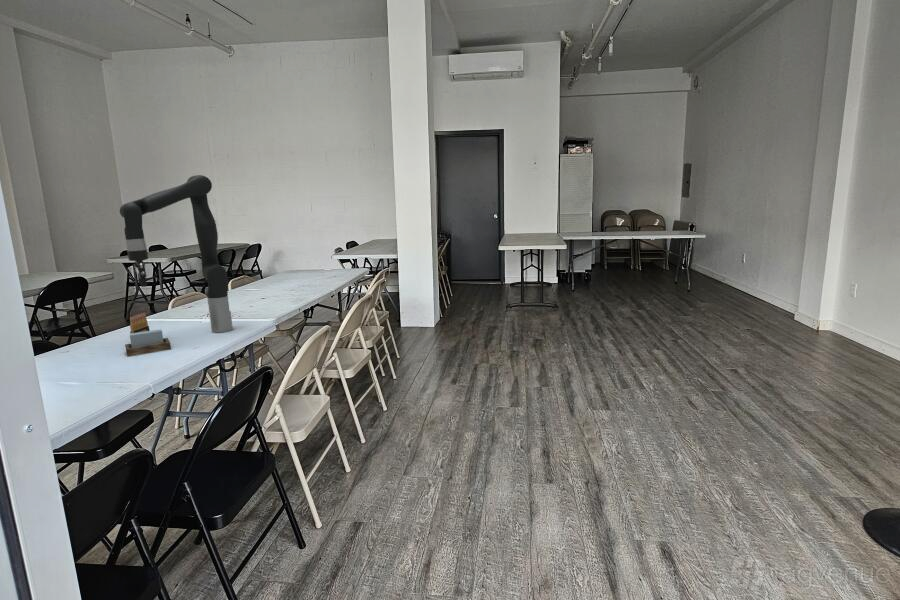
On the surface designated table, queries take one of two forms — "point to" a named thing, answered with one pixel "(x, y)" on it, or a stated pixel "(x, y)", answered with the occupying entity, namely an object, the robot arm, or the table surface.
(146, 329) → the ammunition clip
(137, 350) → the cradle jig
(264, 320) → the table surface
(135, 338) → the long grey rectangular block
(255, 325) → the table surface
